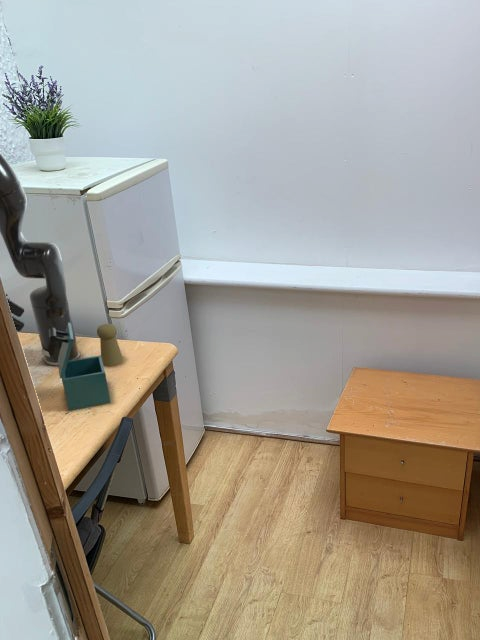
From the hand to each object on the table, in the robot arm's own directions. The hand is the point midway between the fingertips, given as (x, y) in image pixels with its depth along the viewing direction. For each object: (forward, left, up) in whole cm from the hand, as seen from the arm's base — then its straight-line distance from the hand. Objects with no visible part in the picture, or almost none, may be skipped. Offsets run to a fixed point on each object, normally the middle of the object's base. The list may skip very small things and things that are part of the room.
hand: (22, 320), depth 140 cm
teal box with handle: (0, +8, -9) cm, 12 cm away
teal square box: (0, +11, -23) cm, 25 cm away
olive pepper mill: (-18, +19, -23) cm, 35 cm away
